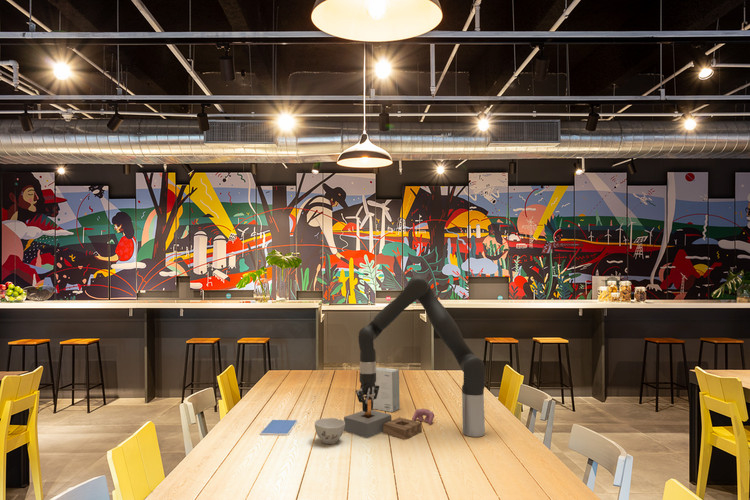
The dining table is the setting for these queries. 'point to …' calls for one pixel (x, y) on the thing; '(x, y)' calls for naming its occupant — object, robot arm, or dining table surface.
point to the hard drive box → (387, 390)
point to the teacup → (329, 429)
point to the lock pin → (368, 413)
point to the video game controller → (425, 412)
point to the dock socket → (366, 423)
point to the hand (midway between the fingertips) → (367, 410)
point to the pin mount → (402, 428)
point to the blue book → (279, 427)
